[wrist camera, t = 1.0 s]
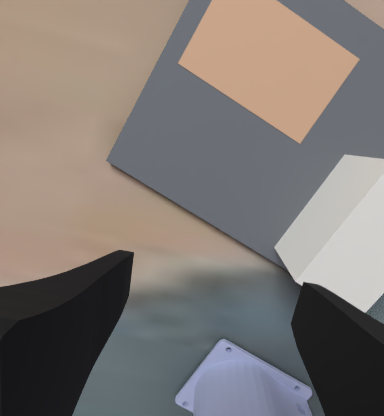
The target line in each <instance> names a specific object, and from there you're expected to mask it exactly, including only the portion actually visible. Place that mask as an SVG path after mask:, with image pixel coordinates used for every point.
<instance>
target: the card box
mask: <svg viewBox="0 0 384 416" xmlns="http://www.w3.org/2000/svg"><path fill="white" fill-rule="evenodd" d="M274 248H275V250H276V251H277V253H278V254H279V256H280V258H281V259H282V261H283V263H284V264H285V266H286V267H287V269H288V271H289V272H290V274H291V276H292V277H293V279H294V280H295V282H297V283H298V284H300V285H303V282H308V283H313V284H318V285H321V286H323V287H325V288H326V289H328V290H330V291H331V292H333V293H335V294H336V295H338V296H339V297H341V298H343V299H344V300H346V301H347V302H349V303H350V304H352V305H353V306H355V307H356V308H358V309H360V310H361V311H363V312H364V313H366V312H367V310H368V309H369V308H370V307H371V306H372V305H373V304H374V303H375V302H376V301H377V300H378V299H379V298H380V296H381V295H382V294H383V293H384V159H380V158H371V157H362V156H354V155H344V156H343V157H342V159H341V160H340V161H339V163H338V164H337V165H336V166H335V168H334V169H333V170H332V172H331V173H330V174H329V176H328V177H327V178H326V180H325V181H324V182H323V184H322V185H321V186H320V188H319V189H318V190H317V192H316V193H315V194H314V195H313V197H312V198H311V199H310V201H309V202H308V203H307V205H306V206H305V207H304V209H303V210H302V211H301V213H300V214H299V215H298V217H297V218H296V219H295V221H294V222H293V223H292V224H291V226H290V227H289V228H288V230H287V231H286V232H285V234H284V235H283V236H282V238H281V239H280V240H279V242H278V243H277V244H276V246H275V247H274Z"/></svg>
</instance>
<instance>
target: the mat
mask: <svg viewBox="0 0 384 416" xmlns="http://www.w3.org/2000/svg"><path fill="white" fill-rule="evenodd" d="M344 155H354V156H362V157H371V158H380V159H384V29H383V28H381V27H380V26H378V25H377V24H376V23H374V22H373V21H372V20H370V19H369V18H367V17H366V16H365V15H363V14H362V13H360V12H359V11H358V10H356V9H355V8H354V7H352V6H351V5H349V4H348V3H347V2H345V1H344V0H189V2H188V4H187V6H186V8H185V9H184V11H183V13H182V15H181V17H180V19H179V21H178V23H177V25H176V27H175V29H174V31H173V33H172V35H171V36H170V38H169V40H168V42H167V44H166V46H165V48H164V50H163V52H162V54H161V56H160V58H159V60H158V62H157V63H156V65H155V67H154V69H153V71H152V73H151V75H150V77H149V79H148V81H147V83H146V85H145V87H144V88H143V90H142V92H141V94H140V96H139V98H138V100H137V102H136V104H135V106H134V108H133V110H132V112H131V114H130V115H129V117H128V119H127V121H126V123H125V125H124V127H123V129H122V131H121V133H120V135H119V137H118V139H117V140H116V142H115V144H114V146H113V148H112V150H111V152H110V154H109V156H108V158H107V160H106V161H108V162H109V163H111V164H113V165H114V166H116V167H118V168H119V169H121V170H122V171H124V172H126V173H127V174H129V175H131V176H132V177H134V178H136V179H137V180H139V181H141V182H142V183H144V184H146V185H147V186H149V187H150V188H152V189H154V190H155V191H157V192H159V193H160V194H162V195H164V196H165V197H167V198H169V199H170V200H172V201H174V202H175V203H177V204H178V205H180V206H182V207H183V208H185V209H187V210H188V211H190V212H192V213H193V214H195V215H197V216H198V217H200V218H202V219H203V220H205V221H206V222H208V223H210V224H211V225H213V226H215V227H216V228H218V229H220V230H221V231H223V232H225V233H226V234H228V235H230V236H231V237H233V238H235V239H236V240H238V241H239V242H241V243H243V244H244V245H246V246H248V247H249V248H251V249H253V250H254V251H256V252H258V253H259V254H261V255H263V256H264V257H266V258H267V259H269V260H271V261H272V262H274V263H276V264H277V265H279V266H281V267H282V268H284V269H286V270H287V271H288V269H287V267H286V266H285V264H284V263H283V261H282V259H281V258H280V256H279V254H278V253H277V251H276V250H275V248H274V247H275V246H276V244H277V243H278V242H279V240H280V239H281V238H282V236H283V235H284V234H285V232H286V231H287V230H288V228H289V227H290V226H291V224H292V223H293V222H294V221H295V219H296V218H297V217H298V215H299V214H300V213H301V211H302V210H303V209H304V207H305V206H306V205H307V203H308V202H309V201H310V199H311V198H312V197H313V195H314V194H315V193H316V192H317V190H318V189H319V188H320V186H321V185H322V184H323V182H324V181H325V180H326V178H327V177H328V176H329V174H330V173H331V172H332V170H333V169H334V168H335V166H336V165H337V164H338V163H339V161H340V160H341V159H342V157H343V156H344Z"/></svg>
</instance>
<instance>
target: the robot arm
mask: <svg viewBox="0 0 384 416" xmlns="http://www.w3.org/2000/svg"><path fill="white" fill-rule="evenodd" d="M133 256H134V252H129V251H123V250H118V251H115V252H113V253H110V254H108V255H106V256H104V257H101V258H99V259H97V260H94V261H92V262H90V263H88V264H85V265H82V266H80V267H77V268H74V269H72V270H69V271H67V272H64V273H60V274H57V275H54V276H50V277H47V278H43V279H39V280H35V281H30V282H25V283H20V284H15V285H10V286H4V287H0V416H72V414H73V412H74V409H75V407H76V405H77V402H78V400H79V397H80V395H81V393H82V390H83V388H84V386H85V383H86V381H87V379H88V377H89V374H90V372H91V370H92V368H93V366H94V364H95V362H96V360H97V358H98V357H99V355H100V353H101V351H102V349H103V348H104V346H105V344H106V342H107V340H108V339H109V337H110V335H111V333H112V331H113V329H114V328H115V326H116V324H117V322H118V320H119V318H120V316H121V314H122V312H123V309H124V307H125V304H126V302H127V299H128V296H129V290H130V282H131V273H132V264H133ZM291 326H292V330H293V334H294V338H295V341H296V345H297V348H298V350H299V353H300V355H301V358H302V360H303V363H304V365H305V367H306V370H307V372H308V374H309V377H310V379H311V382H312V384H313V386H314V389H315V391H316V393H317V396H318V398H319V400H320V403H321V405H322V408H323V411H324V413H325V416H384V324H382V323H380V322H379V321H377V320H375V319H374V318H372V317H371V316H369V315H367V314H366V313H364V312H363V311H361V310H360V309H358V308H356V307H355V306H353V305H352V304H350V303H349V302H347V301H346V300H344V299H343V298H341V297H339V296H338V295H336V294H335V293H333V292H331V291H330V290H328V289H326V288H325V287H323V286H321V285H318V284H313V283H308V282H303V285H302V288H301V291H300V295H299V298H298V302H297V305H296V308H295V312H294V315H293V318H292V322H291ZM228 347H230V349H226V348H228ZM296 386H297V387H296ZM311 396H312V390H311V388H310V387H309V386H307V385H305V384H304V383H302V382H300V381H298V380H296V379H295V378H293V377H291V376H289V375H288V374H286V373H284V372H282V371H281V370H279V369H277V368H275V367H274V366H272V365H270V364H268V363H266V362H265V361H263V360H261V359H259V358H258V357H256V356H254V355H252V354H251V353H249V352H247V351H245V350H244V349H242V348H240V347H238V346H236V345H235V344H233V343H231V342H229V341H228V340H225V339H221V340H219V341H218V343H217V344H216V345H215V346H214V348H213V349H212V350H211V352H210V353H209V354H208V355H207V357H206V358H205V359H204V361H203V362H202V363H201V364H200V366H199V367H198V368H197V370H196V371H195V372H194V373H193V375H192V376H191V377H190V379H189V380H188V381H187V382H186V384H185V385H184V386H183V388H182V389H181V390H180V391H179V393H178V394H177V395H176V398H175V402H176V403H177V404H178V405H180V406H181V407H183V408H185V409H187V410H189V411H191V412H193V416H312V413H311V411H310V408H309V405H308V403H307V400H308V399H309V398H310V397H311Z"/></svg>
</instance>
